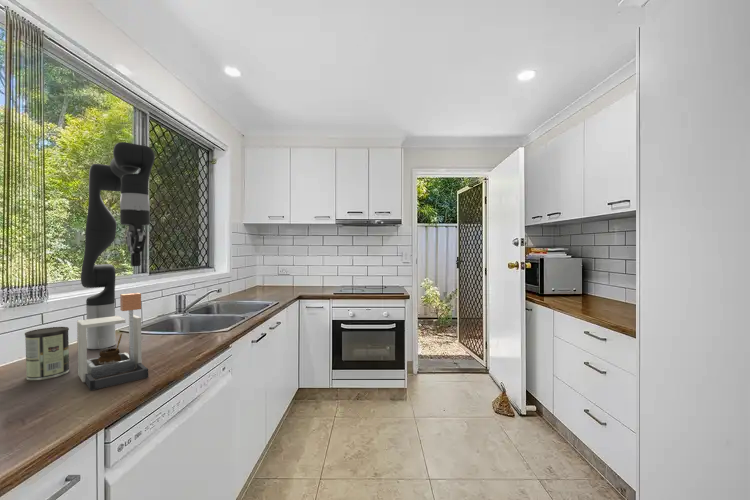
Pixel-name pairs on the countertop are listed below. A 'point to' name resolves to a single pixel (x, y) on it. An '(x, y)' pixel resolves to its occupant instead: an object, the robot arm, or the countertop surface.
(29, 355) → the coffee can
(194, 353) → the countertop surface
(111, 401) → the countertop surface
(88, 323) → the white and grey frame
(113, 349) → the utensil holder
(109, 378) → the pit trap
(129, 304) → the slider
